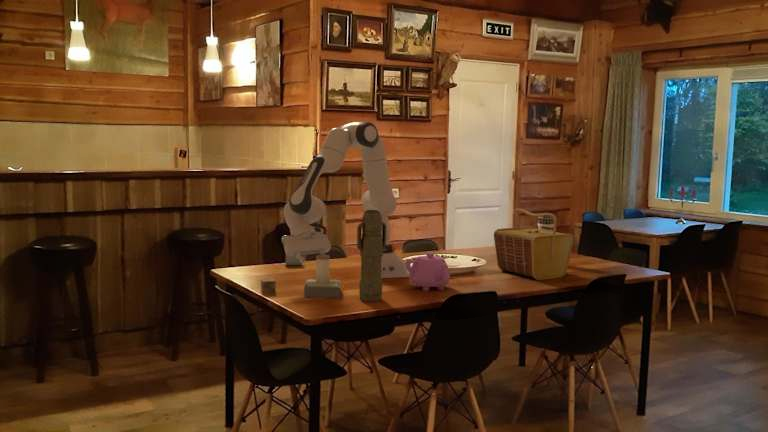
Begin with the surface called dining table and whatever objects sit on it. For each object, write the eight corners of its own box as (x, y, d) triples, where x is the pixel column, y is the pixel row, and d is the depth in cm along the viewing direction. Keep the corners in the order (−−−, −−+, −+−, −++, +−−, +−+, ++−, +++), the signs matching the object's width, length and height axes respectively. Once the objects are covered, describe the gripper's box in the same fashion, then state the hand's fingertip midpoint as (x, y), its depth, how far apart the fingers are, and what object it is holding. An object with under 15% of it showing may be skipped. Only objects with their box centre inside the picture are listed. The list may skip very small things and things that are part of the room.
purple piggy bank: (417, 295, 291) (418, 259, 289) (397, 285, 309) (397, 251, 307) (460, 292, 299) (461, 256, 297) (437, 282, 317) (438, 249, 315)
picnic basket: (574, 277, 335) (577, 213, 331) (532, 282, 322) (535, 215, 318) (530, 266, 360) (533, 206, 356) (490, 271, 346) (492, 208, 343)
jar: (329, 281, 294) (329, 254, 293) (329, 284, 289) (329, 257, 287) (316, 281, 294) (316, 254, 292) (315, 284, 288) (315, 256, 287)
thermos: (351, 299, 283) (353, 210, 279) (376, 295, 290) (378, 208, 286) (363, 303, 276) (365, 212, 272) (389, 300, 282) (391, 211, 278)
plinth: (340, 289, 299) (340, 279, 298) (339, 297, 285) (339, 286, 285) (306, 289, 298) (306, 279, 298) (304, 297, 284) (304, 286, 284)
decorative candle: (557, 263, 369) (559, 215, 366) (544, 265, 364) (546, 216, 361) (543, 260, 376) (545, 213, 374) (531, 262, 371) (533, 214, 368)
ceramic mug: (302, 266, 348) (303, 250, 347) (285, 266, 346) (285, 251, 345) (301, 263, 358) (301, 247, 357) (284, 263, 356) (284, 247, 356)
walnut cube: (273, 290, 296) (273, 278, 295) (275, 293, 291) (275, 281, 290) (261, 291, 294) (261, 279, 293) (263, 293, 289) (263, 281, 289)
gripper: (282, 231, 297) (293, 258, 290) (326, 228, 308) (337, 254, 301) (277, 240, 301) (288, 267, 294) (321, 237, 312) (332, 263, 305)
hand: (313, 261), depth 297 cm, fingers open, 8 cm apart
